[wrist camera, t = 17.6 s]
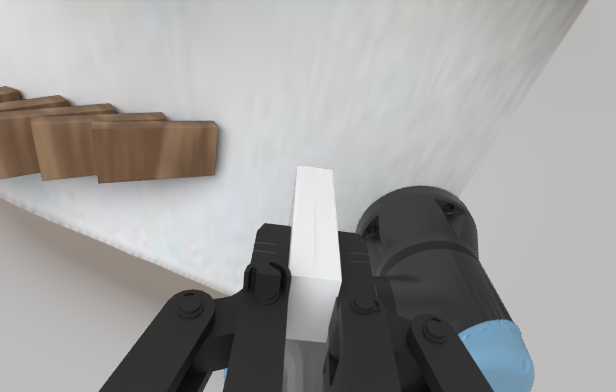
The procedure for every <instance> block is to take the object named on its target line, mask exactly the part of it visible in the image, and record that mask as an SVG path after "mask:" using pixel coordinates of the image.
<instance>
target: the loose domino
mask: <svg viewBox="0 0 616 392" xmlns="http://www.w3.org/2000/svg"><path fill="white" fill-rule="evenodd" d="M91 124H92V135H93V143H94V151H95V159H96V167H97V176H98V183H112V182H127V181H141V180H155V179H169V178H183V177H198V176H212V175H215V164H216V146H217V129H218V127H217V126H216V124H215V123H214V121H126V122H91Z"/></svg>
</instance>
